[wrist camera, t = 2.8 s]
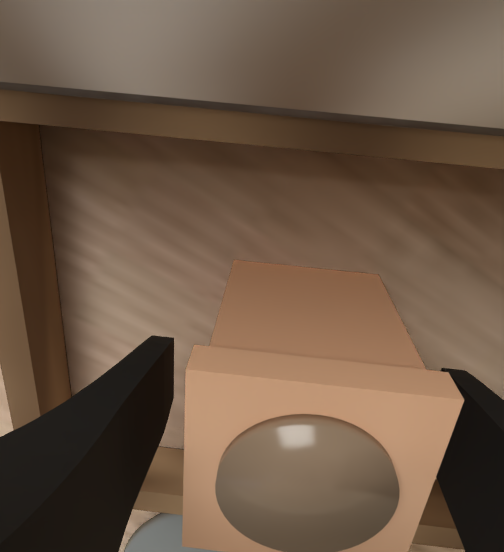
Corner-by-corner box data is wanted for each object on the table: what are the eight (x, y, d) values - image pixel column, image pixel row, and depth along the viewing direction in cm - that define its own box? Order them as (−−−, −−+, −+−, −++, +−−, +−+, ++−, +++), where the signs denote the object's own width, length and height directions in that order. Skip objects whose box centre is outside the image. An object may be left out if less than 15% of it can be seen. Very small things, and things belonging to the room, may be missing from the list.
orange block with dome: (218, 380, 15) (179, 559, 9) (226, 251, 13) (182, 379, 7) (358, 396, 15) (403, 587, 9) (388, 267, 13) (471, 412, 7)
